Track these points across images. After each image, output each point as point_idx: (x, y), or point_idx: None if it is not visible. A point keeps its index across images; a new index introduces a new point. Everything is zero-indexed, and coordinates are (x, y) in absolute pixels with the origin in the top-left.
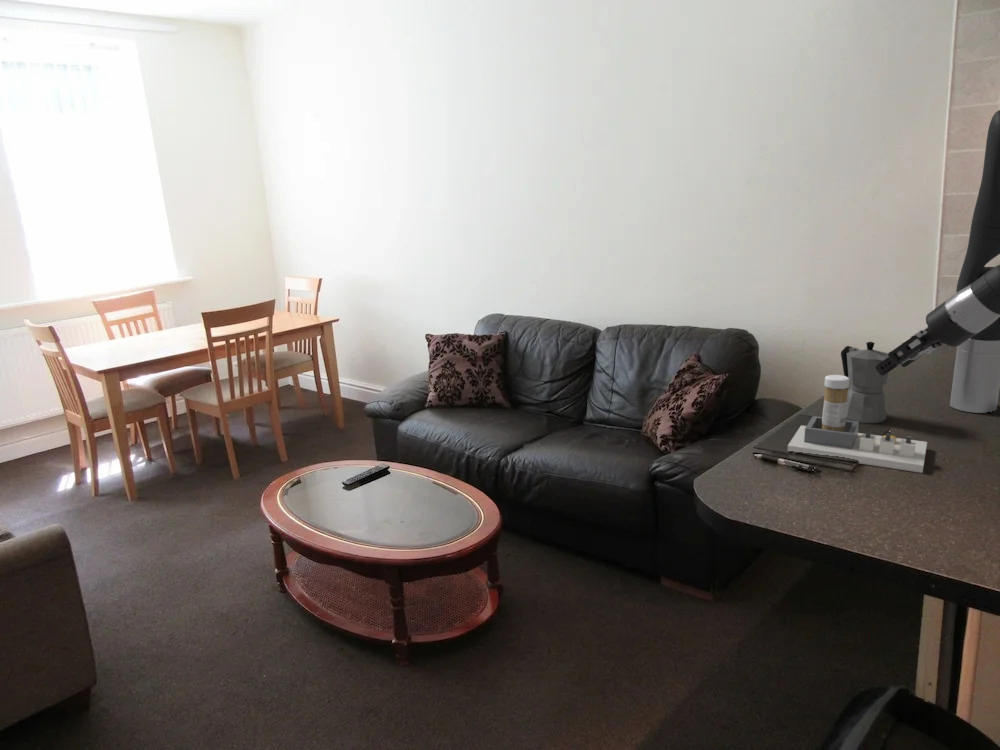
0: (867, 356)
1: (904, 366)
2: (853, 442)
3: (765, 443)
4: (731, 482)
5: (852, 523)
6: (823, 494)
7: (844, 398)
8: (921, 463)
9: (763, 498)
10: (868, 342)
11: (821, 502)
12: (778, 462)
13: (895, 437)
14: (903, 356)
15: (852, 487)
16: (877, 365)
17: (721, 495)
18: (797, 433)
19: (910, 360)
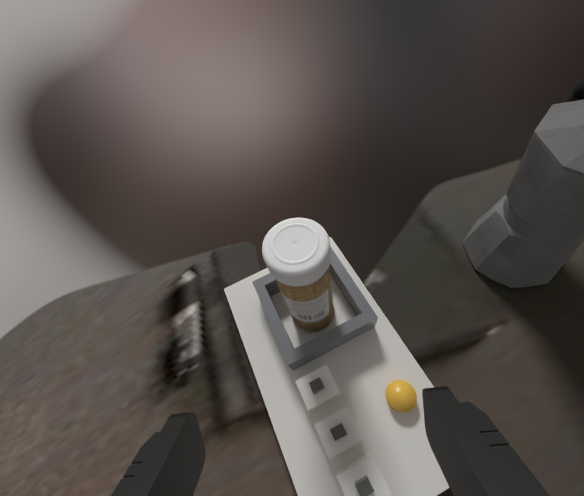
0: (580, 152)
1: (430, 442)
2: (307, 361)
3: (240, 250)
4: (64, 327)
5: None
6: (84, 462)
7: (298, 296)
8: None
9: (24, 401)
10: None
11: (46, 485)
12: (178, 314)
13: (411, 406)
14: (443, 429)
15: None
16: (165, 426)
17: (11, 351)
18: None
19: (455, 487)
